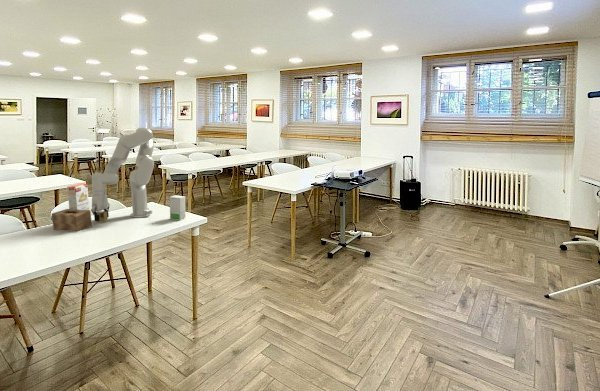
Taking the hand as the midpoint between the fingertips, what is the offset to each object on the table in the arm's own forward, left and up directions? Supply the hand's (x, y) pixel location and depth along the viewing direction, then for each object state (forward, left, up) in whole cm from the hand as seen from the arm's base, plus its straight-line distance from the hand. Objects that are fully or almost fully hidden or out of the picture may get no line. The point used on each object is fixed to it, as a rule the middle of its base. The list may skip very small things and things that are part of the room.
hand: (101, 218), depth 243 cm
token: (0, 0, -1) cm, 1 cm away
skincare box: (-45, -16, -1) cm, 48 cm away
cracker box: (+24, -10, -1) cm, 26 cm away
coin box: (+6, +18, -1) cm, 19 cm away
